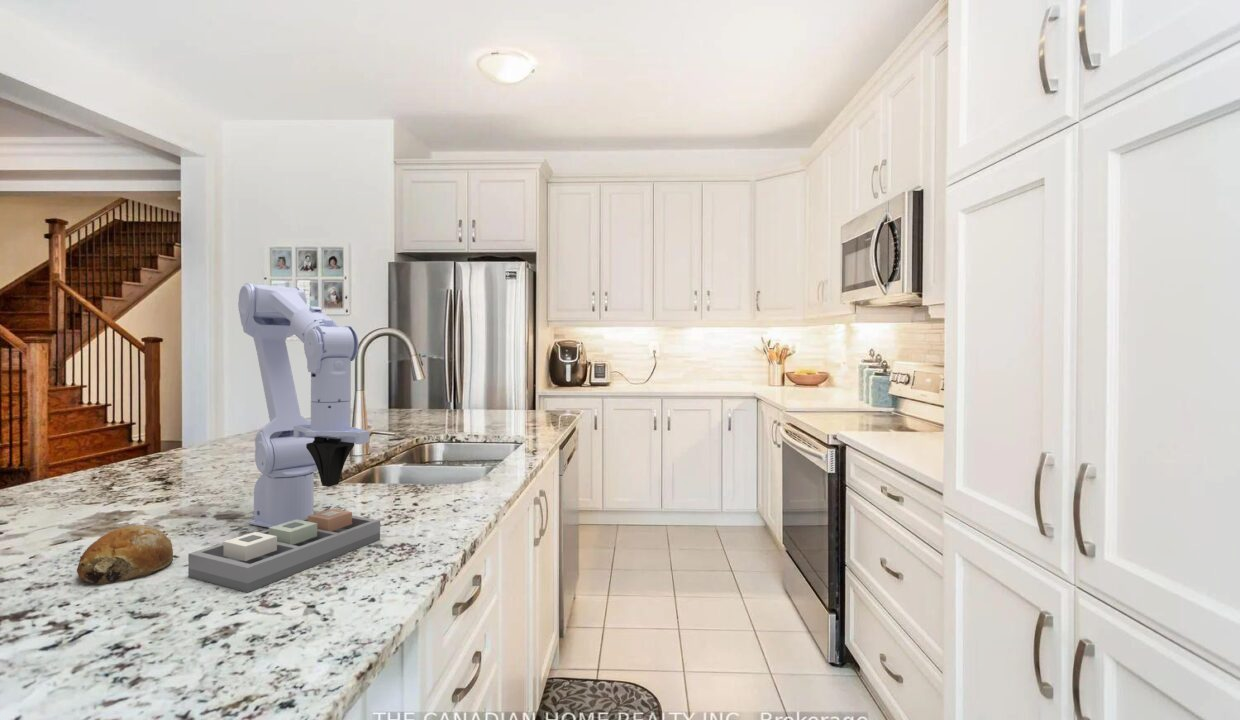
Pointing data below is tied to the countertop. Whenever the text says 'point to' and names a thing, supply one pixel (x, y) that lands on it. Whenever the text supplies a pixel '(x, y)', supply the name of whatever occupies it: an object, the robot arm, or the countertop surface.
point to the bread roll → (125, 555)
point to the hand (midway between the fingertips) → (330, 485)
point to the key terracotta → (331, 519)
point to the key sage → (294, 531)
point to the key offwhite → (250, 546)
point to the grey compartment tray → (280, 557)
